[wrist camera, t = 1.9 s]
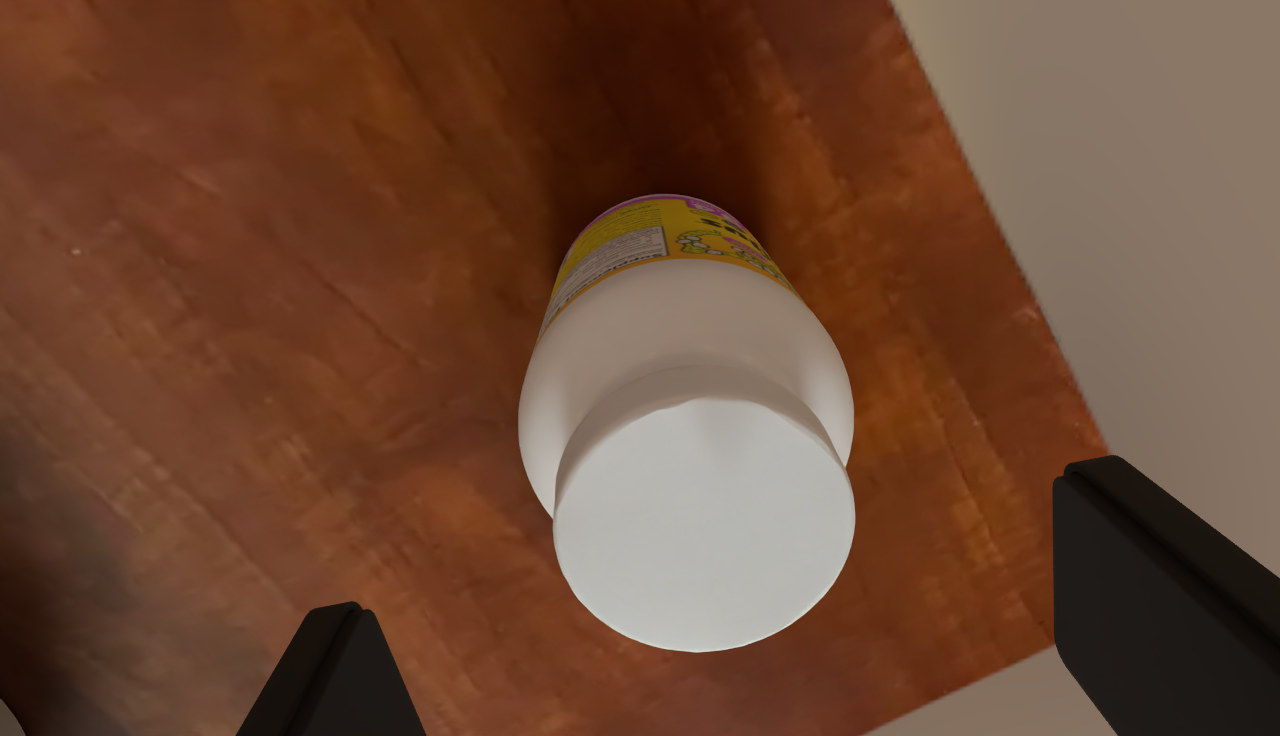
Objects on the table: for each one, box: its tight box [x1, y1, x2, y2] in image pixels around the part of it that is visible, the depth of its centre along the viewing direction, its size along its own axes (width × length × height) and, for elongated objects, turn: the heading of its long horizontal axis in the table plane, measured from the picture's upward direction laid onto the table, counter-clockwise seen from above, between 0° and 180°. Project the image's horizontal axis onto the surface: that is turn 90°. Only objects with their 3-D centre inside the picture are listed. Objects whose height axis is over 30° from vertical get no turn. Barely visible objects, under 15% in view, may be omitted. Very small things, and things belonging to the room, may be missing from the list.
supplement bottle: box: [518, 194, 855, 652], centre depth 17 cm, size 7×7×13 cm
